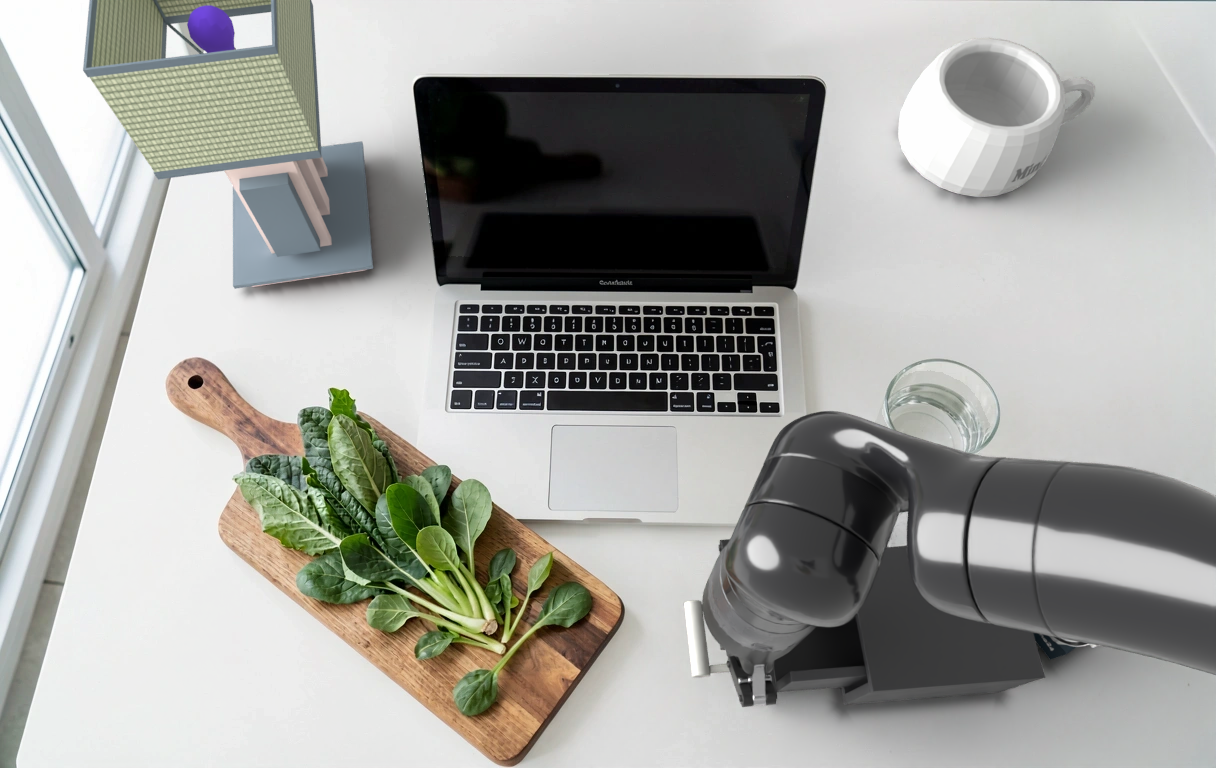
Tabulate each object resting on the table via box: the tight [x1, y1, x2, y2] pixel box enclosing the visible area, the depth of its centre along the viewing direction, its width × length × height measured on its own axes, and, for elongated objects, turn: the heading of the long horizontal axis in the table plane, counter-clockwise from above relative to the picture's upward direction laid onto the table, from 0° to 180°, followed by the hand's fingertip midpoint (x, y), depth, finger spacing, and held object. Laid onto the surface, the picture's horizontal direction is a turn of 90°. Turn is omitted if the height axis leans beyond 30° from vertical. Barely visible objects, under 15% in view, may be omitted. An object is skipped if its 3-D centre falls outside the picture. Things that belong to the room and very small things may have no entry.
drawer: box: [683, 599, 868, 694], centre depth 76 cm, size 18×10×7 cm, turn 94°
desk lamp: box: [82, 0, 374, 290], centre depth 84 cm, size 18×14×33 cm
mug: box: [897, 37, 1096, 198], centre depth 100 cm, size 21×17×10 cm
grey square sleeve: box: [840, 545, 1046, 706], centre depth 76 cm, size 14×11×9 cm
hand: (731, 640), depth 75 cm, fingers closed
